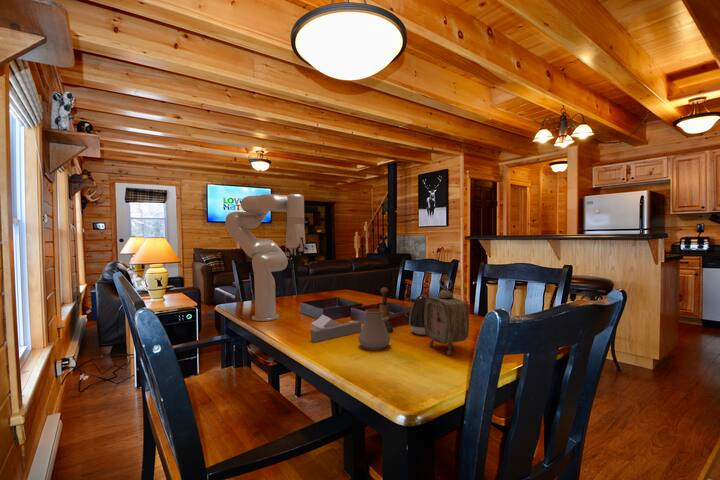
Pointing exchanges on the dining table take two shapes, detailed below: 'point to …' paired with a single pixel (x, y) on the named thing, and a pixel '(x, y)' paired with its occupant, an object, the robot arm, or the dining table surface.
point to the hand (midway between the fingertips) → (296, 264)
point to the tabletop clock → (446, 318)
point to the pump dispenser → (417, 315)
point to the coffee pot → (375, 330)
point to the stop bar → (335, 331)
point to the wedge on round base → (323, 322)
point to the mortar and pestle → (385, 310)
